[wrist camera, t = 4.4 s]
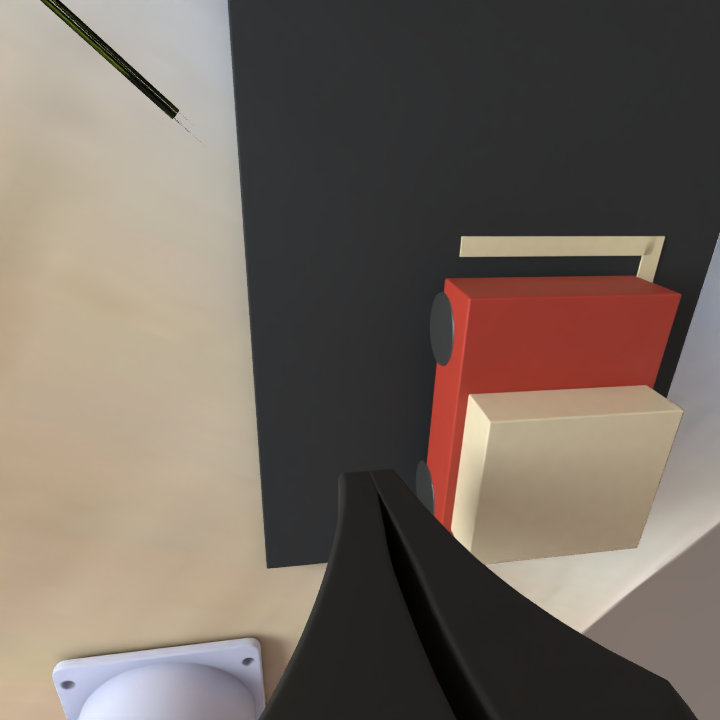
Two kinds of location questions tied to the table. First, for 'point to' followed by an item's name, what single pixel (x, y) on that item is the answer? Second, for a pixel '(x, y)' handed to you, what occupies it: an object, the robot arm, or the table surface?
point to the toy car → (547, 413)
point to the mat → (447, 200)
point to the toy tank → (110, 59)
